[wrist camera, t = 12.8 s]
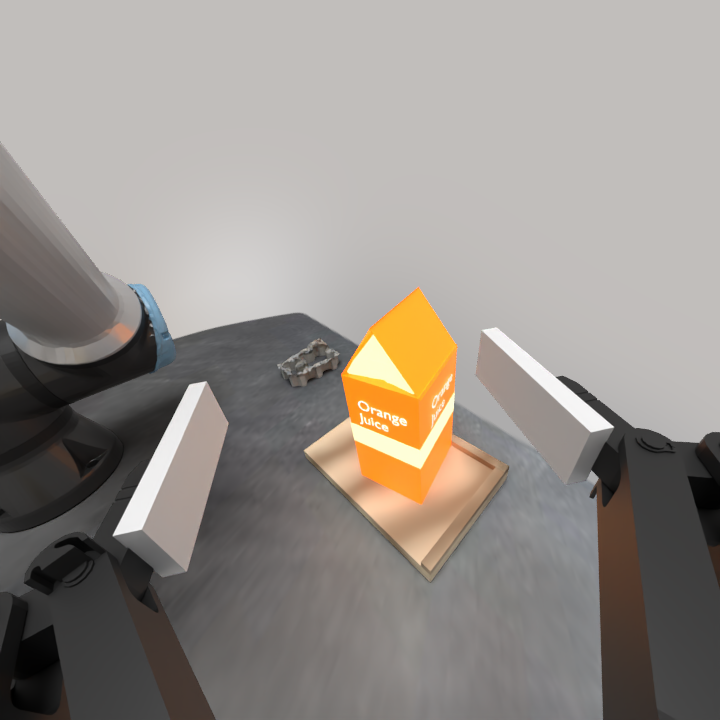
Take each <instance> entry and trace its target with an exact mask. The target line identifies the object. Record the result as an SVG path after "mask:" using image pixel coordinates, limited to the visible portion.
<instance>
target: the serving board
mask: <svg viewBox="0 0 720 720" xmlns="http://www.w3.org/2000/svg"><path fill="white" fill-rule="evenodd" d="M304 452H305V455H306V458H307V459H308V460H309V461H310V462H311V463H312V464H313V465H314V466H315V467H316V468H317V469H318V470H319V471H320V472H321V473H322V474H323V475H324V476H325V477H326V478H327V479H328V480H329V481H330V482H331V483H332V484H333V485H334V486H335V487H336V488H337V489H338V490H339V491H340V492H341V493H342V494H343V495H344V496H345V497H346V498H347V499H348V500H349V501H350V502H351V503H352V504H353V505H354V506H355V507H356V508H357V509H358V510H359V511H360V512H361V513H362V514H363V515H364V516H365V517H366V518H367V519H368V520H369V521H370V522H371V523H372V524H373V525H374V526H375V527H376V528H377V529H378V530H379V531H380V532H381V533H382V534H383V535H384V536H385V537H386V539H387V540H388V541H389V542H390V543H391V544H392V545H393V546H394V547H395V548H396V549H397V550H398V551H399V552H400V553H401V554H402V555H403V556H404V557H405V558H406V559H407V560H408V561H409V562H410V563H411V564H412V565H413V566H414V567H415V568H416V569H417V570H418V571H419V572H420V573H421V574H422V575H423V576H424V577H425V578H426V579H427V580H428V581H429V582H430V583H431V581H432V580H433V579H434V577H435V576H436V574H437V573H438V572H439V570H440V569H441V568H442V566H443V565H444V564H445V562H446V561H447V559H448V558H449V557H450V555H451V554H452V553H453V551H454V550H455V548H456V547H457V546H458V544H459V543H460V542H461V540H462V539H463V538H464V536H465V535H466V533H467V532H468V531H469V529H470V528H471V527H472V525H473V524H474V523H475V521H476V520H477V518H478V517H479V516H480V514H481V513H482V512H483V510H484V509H485V507H486V506H487V505H488V503H489V502H490V501H491V499H492V498H493V497H494V495H495V494H496V492H497V491H498V490H499V488H500V487H501V486H502V484H503V483H504V482H505V480H506V478H507V474H508V469H509V466H508V465H506V464H504V463H503V462H501V461H499V460H497V459H496V458H494V457H492V456H490V455H489V454H487V453H485V452H483V451H482V450H480V449H478V448H476V447H475V446H473V445H471V444H469V443H468V442H466V441H464V440H462V439H461V438H459V437H457V436H455V435H454V434H452V438H451V447H450V449H449V451H448V453H447V455H446V457H445V459H444V461H443V463H442V465H441V467H440V469H439V471H438V473H437V475H436V477H435V479H434V481H433V483H432V485H431V487H430V489H429V491H428V493H427V495H426V497H425V499H424V501H423V503H422V505H421V504H419V503H417V502H415V501H413V500H411V499H409V498H407V497H405V496H403V495H401V494H399V493H397V492H395V491H393V490H391V489H389V488H387V487H385V486H383V485H381V484H379V483H377V482H376V481H374V480H372V479H370V478H368V477H366V476H364V475H362V473H361V468H360V463H359V458H358V453H357V448H356V443H355V440H354V436H353V431H352V427H351V419H350V417H349V418H348V419H346V420H345V421H343V422H342V423H341V424H339V425H338V426H337V427H335V428H334V429H333V430H331V431H330V432H328V433H327V434H326V435H324V436H323V437H322V438H320V439H319V440H318V441H316V442H315V443H313V444H312V445H311V446H309V447H308V448H307V449H305V450H304Z"/></svg>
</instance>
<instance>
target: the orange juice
mask: <svg viewBox="0 0 720 720" xmlns="http://www.w3.org/2000/svg"><path fill="white" fill-rule="evenodd" d="M456 352H457V344H455V343H454V341H453V340H452V338H451V337H450V335H449V334H448V332H447V330H446V329H445V327H444V326H443V324H442V323H441V321H440V320H439V318H438V317H437V315H436V313H435V312H434V310H433V309H432V307H431V306H430V304H429V303H428V301H427V300H426V298H425V297H424V295H423V294H422V292H421V290H420V289H419V288H417V289H416V290H414V291H413V292H412V293H411V294H410V295H409V296H407V297H406V298H405V299H404V300H403V301H401V302H400V303H399V304H398V305H397V306H395V307H394V308H393V309H392V310H391V311H389V312H388V313H387V314H386V315H385V316H384V317H382V318H381V319H380V320H379V321H378V322H376V324H374V325H373V326H372V327H371V328H370V329H369V331H368V332H367V334H366V336H365V337H364V339H363V340H362V342H361V344H360V345H359V347H358V349H357V350H356V352H355V354H354V355H353V357H352V358H351V360H350V362H349V363H348V365H347V367H346V368H345V370H344V372H343V373H342V380H343V385H344V389H345V394H346V399H347V404H348V409H349V414H350V419H351V427H352V431H353V436H354V440H355V443H356V448H357V453H358V458H359V463H360V468H361V473H362V475H364V476H366V477H368V478H370V479H372V480H374V481H376V482H377V483H379V484H381V485H383V486H385V487H387V488H389V489H391V490H393V491H395V492H397V493H399V494H401V495H403V496H405V497H407V498H409V499H411V500H413V501H415V502H417V503H419V504H421V505H422V503H423V501H424V499H425V497H426V495H427V493H428V491H429V489H430V487H431V485H432V483H433V481H434V479H435V477H436V475H437V473H438V471H439V469H440V467H441V465H442V463H443V461H444V459H445V457H446V455H447V453H448V451H449V449H450V447H451V438H452V421H453V410H454V394H455V393H454V386H455V369H456V368H455V367H456Z"/></svg>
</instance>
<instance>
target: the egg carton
mask: <svg viewBox="0 0 720 720" xmlns="http://www.w3.org/2000/svg"><path fill="white" fill-rule="evenodd" d="M325 355H326V358H327V359H324V361H320V363H316V364H314V366H309V367H308V364H307V363H311V362H313V361H315V357H317V356H325ZM337 355H340V354H339V353H338V352H337V351H336V352H335V351H334V350H333V349H330V348H329V347H328V345H327V344H326V343H325V342H323V341H322V340H321V338H319V339H318V340H314V341H313V342H311V343H310V344H309V345H308V346H307V348H306V349H303V350H301V351H300V352H299V353H298V354H296V355H294V356H291V357H290V358H289V359H288V360H287V361H285V362H284V363H281V364H278V365H277V366H278V368H279V369H280V370H281V373H282V375H283V378H284V379H285V380H286V379H290V382H291V385H292V386H293V387H296V386H302V387H304V386H305V385H307V380H308V379H310V378H313V377H317V378H320V377H322V376H323V374H322V373H323V371H325V370H327V369H333V370H334V369H336V368H338V367H337V364H338V362H339V361H338V356H337ZM291 370H292V371H295V370H296V371H297V374H292V371H291Z"/></svg>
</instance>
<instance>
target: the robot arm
mask: <svg viewBox="0 0 720 720" xmlns="http://www.w3.org/2000/svg"><path fill="white" fill-rule="evenodd" d="M0 319H2V320H0V532H15V531H21V530H25V529H28V528H31V527H34V526H37V525H39V524H42V523H44V522H46V521H48V520H50V519H52V518H54V517H56V516H58V515H60V514H62V513H63V512H65V511H67V510H68V509H70V508H72V507H73V506H75V505H76V504H78V503H79V502H80V501H82V500H83V499H85V498H86V497H87V496H88V495H90V494H91V493H92V492H93V491H94V490H96V489H97V488H98V487H99V486H100V485H101V484H102V483H103V482H104V481H105V480H106V479H107V478H108V477H109V476H110V474H111V473H112V472H113V471H114V469H115V468H116V466H117V465H118V463H119V461H120V459H121V457H122V454H123V445H122V442H121V441H120V440H119V439H118V438H117V436H116V435H115V434H114V433H113V432H112V431H111V430H109V429H107V428H105V427H103V426H102V425H100V424H98V423H96V422H94V421H92V420H90V419H88V418H86V417H84V416H82V415H80V414H78V413H76V412H75V411H74V410H73V409H72V408H71V407H70V406H69V404H71V403H74V402H76V401H79V400H81V399H84V398H86V397H89V396H91V395H94V394H96V393H99V392H102V391H104V390H107V389H109V388H112V387H114V386H117V385H120V384H122V383H125V382H127V381H130V380H132V379H135V378H137V377H140V376H143V375H145V374H148V373H154V372H155V371H157V370H158V369H159V368H162V367H164V366H166V365H169V364H170V363H172V362H173V361H174V359H175V357H176V350H175V346H174V343H173V340H172V338H171V335H170V333H169V332H168V328H167V325H166V323H165V321H164V318H163V316H162V314H161V312H160V310H159V308H158V306H157V304H156V302H155V300H154V298H153V296H152V295H151V293H150V291H149V290H148V289H147V288H146V287H145V286H143V285H142V284H134V285H133V284H126V283H124V282H123V281H122V280H120V279H118V278H116V277H114V276H112V275H109V274H107V273H103V272H100V271H99V269H98V268H97V267H96V266H95V264H94V263H93V262H92V260H91V259H90V258H89V256H88V255H87V254H86V252H85V251H84V250H83V249H82V248H81V246H80V245H79V243H78V242H77V241H76V239H75V238H74V237H73V236H72V234H71V233H70V232H69V230H68V229H67V228H66V227H65V225H64V224H63V223H62V222H61V220H60V219H59V217H58V216H57V215H56V214H55V212H54V211H53V210H52V208H51V207H50V206H49V204H48V203H47V202H46V201H45V199H44V198H43V197H42V195H41V194H40V193H39V191H38V190H37V189H36V188H35V186H34V185H33V184H32V182H31V181H30V180H29V178H28V177H27V176H26V175H25V173H24V172H23V171H22V169H21V168H20V167H19V165H18V164H17V163H16V162H15V160H14V159H13V158H12V156H11V155H10V154H9V153H8V152H7V150H6V149H5V147H4V146H3V145H2V143H1V142H0ZM476 376H477V377H478V379H479V380H480V381H481V382H482V383H483V385H484V386H485V387H486V388H487V390H488V391H489V392H490V393H491V395H492V396H493V397H494V398H495V399H496V401H497V402H498V403H499V404H500V406H501V407H502V408H503V409H504V410H505V412H506V413H507V414H508V415H509V417H510V418H511V419H512V420H513V422H514V423H515V424H516V425H517V426H518V427H519V429H520V430H521V431H522V433H523V434H524V435H525V436H526V437H527V438H528V440H529V441H530V442H531V443H532V445H533V446H534V447H535V448H536V450H537V451H538V452H539V453H540V455H541V456H542V457H543V458H544V459H545V461H546V462H547V463H548V464H549V466H550V467H551V468H552V469H553V470H554V472H555V473H556V474H557V475H558V477H559V478H560V479H561V480H562V481H563V483H564V484H565V485H569V484H574V483H578V482H582V481H586V479H587V477H588V476H589V474H590V472H591V470H592V471H593V472H594V473H595V474H596V475H597V476H598V477H599V479H598V481H597V483H596V484H595V486H594V488H593V490H592V491H591V494H590V498H594V497H595V495H596V493H597V517H598V552H599V588H600V623H601V658H602V693H603V720H720V432H712V433H710V434H707V435H706V436H705V437H704V438H703V439H702V440H701V442H700V443H690V442H673V441H671V440H670V439H668V438H667V437H665V436H663V435H661V434H659V433H657V432H654V431H651V430H647V429H640V428H636V429H635V428H633V427H632V426H631V425H630V424H628V423H627V422H626V421H625V420H623V419H622V418H621V417H620V416H618V415H617V414H616V413H614V412H613V411H612V410H611V409H610V408H608V407H607V406H606V405H605V404H603V403H602V402H601V401H600V400H597V398H596V397H595V396H593V395H592V394H591V393H588V391H587V390H586V389H585V388H583V387H582V386H581V385H580V384H578V383H577V382H575V381H573V380H570V379H568V378H566V377H564V376H559V377H554V376H553V375H552V374H551V373H550V372H549V371H547V370H546V369H545V368H544V367H543V366H541V365H540V364H539V363H538V362H537V361H536V360H534V359H533V358H532V357H531V356H530V355H529V354H527V353H526V352H525V351H524V350H523V349H521V348H520V347H519V346H518V345H517V344H515V343H514V342H513V341H512V340H510V338H508V337H507V336H506V335H505V334H504V333H503V332H501V331H500V330H499V329H498V328H491V329H486V330H482V331H481V338H480V346H479V353H478V361H477V368H476ZM228 424H229V423H228V421H227V420H226V418H225V416H224V414H223V412H222V410H221V408H220V406H219V404H218V402H217V400H216V398H215V397H214V395H213V393H212V391H211V389H210V387H209V385H208V383H207V381H206V382H201V383H195V384H190V385H189V386H188V388H187V390H186V392H185V394H184V396H183V398H182V400H181V402H180V404H179V406H178V408H177V410H176V412H175V414H174V416H173V418H172V420H171V422H170V424H169V426H168V428H167V430H166V432H165V434H164V436H163V438H162V439H161V441H160V443H159V445H158V447H157V449H156V451H155V453H154V455H153V457H152V459H151V460H146V461H141V462H140V463H139V464H138V465H137V466H136V468H135V469H134V470H133V471H132V472H131V473H130V474H129V475H128V477H127V479H126V481H125V482H124V484H123V486H122V488H121V489H122V490H121V491H119V493H118V495H117V497H116V499H115V502H114V503H113V504H112V506H111V508H110V509H109V511H108V513H107V515H106V517H105V518H104V520H103V522H102V524H101V526H100V527H99V529H98V531H97V533H96V535H95V536H94V538H93V540H92V539H91V538H90V537H88V536H87V535H86V534H85V533H80V532H75V533H71V534H68V535H65V536H63V537H61V538H60V539H58V540H56V541H54V542H53V543H52V544H50V545H49V546H48V547H47V548H45V549H44V550H43V551H42V552H41V553H40V554H39V555H38V556H37V557H36V558H35V560H34V561H33V562H32V563H31V565H30V566H29V568H28V570H27V572H26V573H25V578H24V583H25V584H27V585H28V586H30V587H32V588H34V590H32V591H30V592H28V593H26V594H24V595H22V596H20V597H17V596H15V595H13V594H10V593H8V592H1V593H0V720H216V719H215V717H214V715H213V713H212V711H211V709H210V706H209V704H208V702H207V700H206V698H205V696H204V694H203V692H202V690H201V687H200V685H199V683H198V681H197V679H196V677H195V675H194V673H193V670H192V668H191V666H190V664H189V662H188V660H187V658H186V656H185V653H184V651H183V649H182V647H181V645H180V643H179V641H178V639H177V636H176V634H175V632H174V630H173V628H172V626H171V624H170V622H169V619H168V617H167V615H166V613H165V611H164V609H163V607H162V605H161V602H160V600H159V598H158V596H157V594H156V592H155V590H154V588H153V586H152V585H151V584H150V583H149V581H150V578H151V575H152V572H153V570H154V571H155V572H157V573H158V574H159V575H160V576H161V577H166V576H171V575H175V574H180V573H184V572H187V570H188V566H189V562H190V559H191V555H192V552H193V548H194V545H195V541H196V538H197V534H198V531H199V527H200V523H201V520H202V516H203V513H204V509H205V506H206V502H207V499H208V495H209V492H210V488H211V484H212V481H213V477H214V474H215V470H216V467H217V463H218V460H219V456H220V453H221V449H222V445H223V442H224V438H225V435H226V431H227V428H228Z"/></svg>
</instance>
